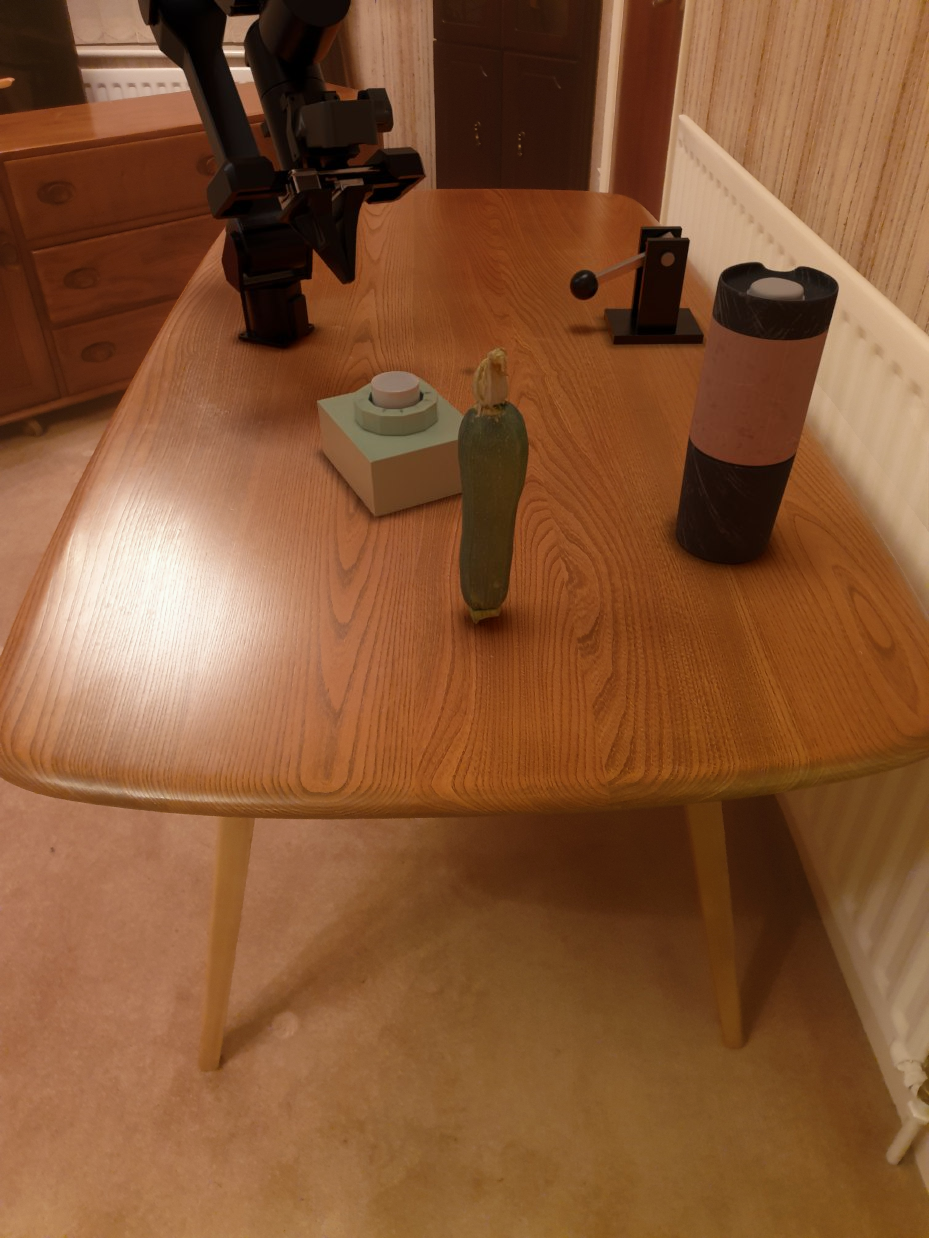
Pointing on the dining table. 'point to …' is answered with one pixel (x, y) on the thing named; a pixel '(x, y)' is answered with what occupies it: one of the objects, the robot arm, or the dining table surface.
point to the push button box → (393, 448)
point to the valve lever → (604, 275)
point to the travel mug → (751, 406)
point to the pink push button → (395, 390)
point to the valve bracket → (657, 295)
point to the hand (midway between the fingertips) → (349, 282)
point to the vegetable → (490, 487)
